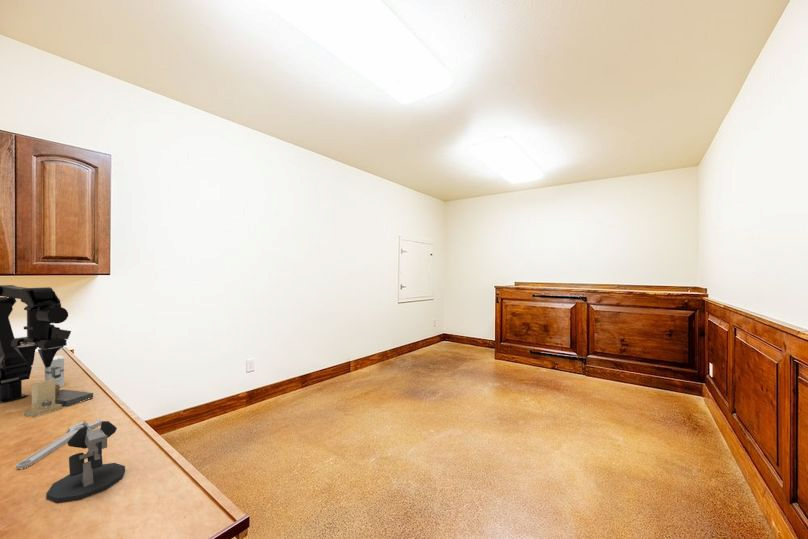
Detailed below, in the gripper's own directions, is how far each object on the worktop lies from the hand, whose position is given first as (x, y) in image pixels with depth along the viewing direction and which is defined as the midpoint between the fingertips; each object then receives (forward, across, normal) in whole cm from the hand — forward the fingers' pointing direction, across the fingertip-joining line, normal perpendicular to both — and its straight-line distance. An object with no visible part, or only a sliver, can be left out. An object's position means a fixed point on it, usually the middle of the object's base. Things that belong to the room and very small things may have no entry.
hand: (39, 366), depth 121 cm
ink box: (+13, +18, -14) cm, 26 cm away
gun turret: (+13, -69, +27) cm, 75 cm away
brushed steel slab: (+13, -6, -4) cm, 15 cm away
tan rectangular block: (+13, -12, +5) cm, 18 cm away
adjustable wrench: (+14, -43, +18) cm, 49 cm away
